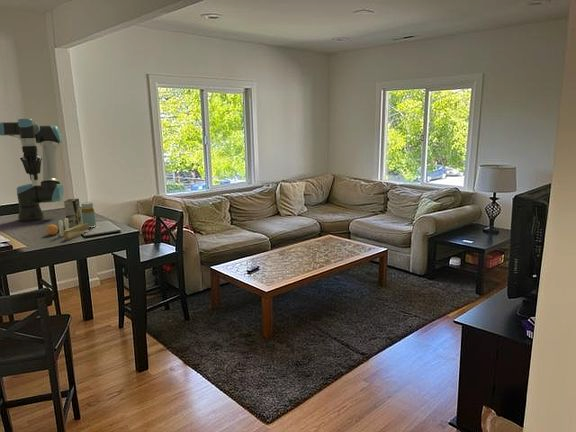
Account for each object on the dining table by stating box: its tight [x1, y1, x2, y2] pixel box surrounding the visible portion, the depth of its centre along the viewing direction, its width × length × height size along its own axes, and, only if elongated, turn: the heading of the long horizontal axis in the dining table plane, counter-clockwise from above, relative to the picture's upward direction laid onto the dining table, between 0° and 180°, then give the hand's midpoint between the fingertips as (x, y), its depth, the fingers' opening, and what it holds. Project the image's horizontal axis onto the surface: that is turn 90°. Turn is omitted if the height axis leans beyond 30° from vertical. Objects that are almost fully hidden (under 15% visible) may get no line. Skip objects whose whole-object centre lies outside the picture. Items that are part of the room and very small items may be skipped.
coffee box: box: [63, 198, 83, 228], centre depth 270 cm, size 9×6×16 cm
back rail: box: [63, 222, 90, 241], centre depth 247 cm, size 3×18×5 cm, turn 171°
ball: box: [45, 224, 59, 236], centre depth 249 cm, size 6×6×6 cm
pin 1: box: [57, 220, 64, 237], centre depth 245 cm, size 2×2×9 cm
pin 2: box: [63, 217, 70, 230], centre depth 250 cm, size 2×2×9 cm
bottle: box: [81, 201, 97, 226], centre depth 264 cm, size 7×7×15 cm
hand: (35, 185), depth 259 cm, fingers closed
